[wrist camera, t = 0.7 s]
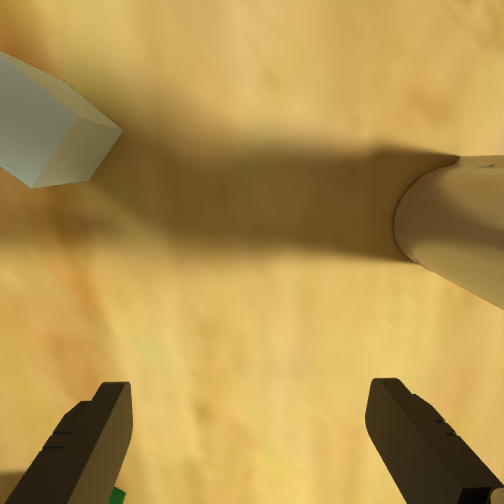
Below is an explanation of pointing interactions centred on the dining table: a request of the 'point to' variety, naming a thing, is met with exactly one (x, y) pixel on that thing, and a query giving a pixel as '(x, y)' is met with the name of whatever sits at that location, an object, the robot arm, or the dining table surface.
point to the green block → (49, 128)
